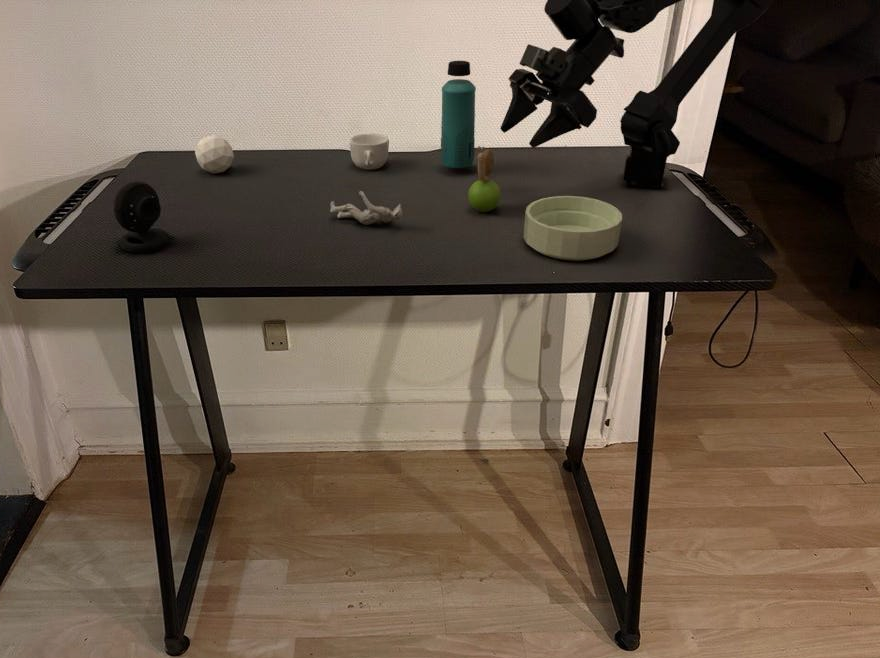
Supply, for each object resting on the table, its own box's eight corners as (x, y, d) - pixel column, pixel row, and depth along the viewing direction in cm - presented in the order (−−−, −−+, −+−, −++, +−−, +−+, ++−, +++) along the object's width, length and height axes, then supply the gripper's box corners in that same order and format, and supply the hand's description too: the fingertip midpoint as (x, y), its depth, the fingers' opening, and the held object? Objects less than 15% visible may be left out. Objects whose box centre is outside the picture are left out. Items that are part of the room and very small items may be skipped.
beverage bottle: (471, 176, 138) (476, 65, 127) (437, 175, 139) (438, 64, 128) (475, 165, 143) (480, 58, 132) (442, 164, 144) (444, 57, 133)
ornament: (196, 179, 139) (180, 140, 138) (219, 180, 146) (204, 143, 145) (224, 162, 136) (207, 122, 136) (246, 165, 143) (230, 127, 142)
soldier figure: (348, 215, 125) (411, 201, 120) (348, 241, 124) (411, 228, 119) (325, 196, 118) (390, 180, 113) (324, 223, 117) (390, 208, 112)
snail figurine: (461, 216, 122) (464, 145, 115) (473, 203, 127) (476, 134, 120) (492, 220, 120) (497, 148, 113) (503, 207, 125) (508, 137, 118)
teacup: (351, 160, 147) (350, 133, 144) (389, 159, 147) (389, 132, 144) (349, 176, 139) (347, 149, 136) (389, 176, 139) (388, 148, 136)
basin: (616, 229, 116) (621, 199, 114) (617, 267, 105) (622, 235, 102) (527, 222, 119) (530, 192, 117) (518, 258, 108) (521, 227, 105)
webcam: (142, 258, 110) (128, 195, 104) (109, 248, 113) (93, 186, 108) (180, 240, 115) (168, 179, 110) (148, 230, 119) (135, 171, 113)
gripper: (523, 16, 118) (460, 93, 121) (590, 33, 104) (517, 121, 106) (559, 62, 125) (498, 134, 128) (627, 85, 111) (557, 166, 113)
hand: (516, 138), depth 119 cm, fingers open, 9 cm apart
